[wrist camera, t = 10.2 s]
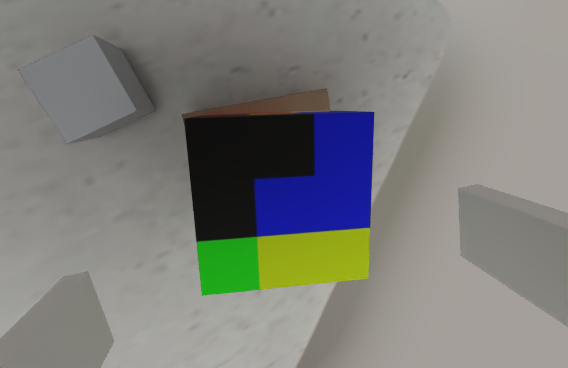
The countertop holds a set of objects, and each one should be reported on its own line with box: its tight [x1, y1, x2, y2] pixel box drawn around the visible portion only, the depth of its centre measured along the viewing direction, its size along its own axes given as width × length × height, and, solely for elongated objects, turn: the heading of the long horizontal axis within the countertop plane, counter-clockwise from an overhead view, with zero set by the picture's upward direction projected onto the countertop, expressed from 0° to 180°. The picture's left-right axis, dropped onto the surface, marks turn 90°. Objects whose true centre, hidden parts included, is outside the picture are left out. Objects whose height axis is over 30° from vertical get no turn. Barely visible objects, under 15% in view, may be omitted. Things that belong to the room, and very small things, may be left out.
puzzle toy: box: [184, 111, 374, 295], centre depth 23 cm, size 10×10×10 cm
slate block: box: [18, 35, 155, 144], centre depth 27 cm, size 6×6×6 cm
